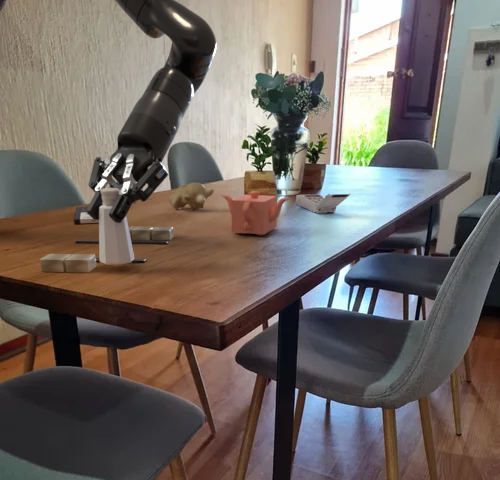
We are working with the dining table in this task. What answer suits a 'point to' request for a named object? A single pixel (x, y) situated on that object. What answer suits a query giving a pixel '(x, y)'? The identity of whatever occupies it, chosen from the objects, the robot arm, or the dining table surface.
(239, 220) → the teapot
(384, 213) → the dining table surface
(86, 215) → the chocolate bar
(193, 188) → the rhino figurine
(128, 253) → the pepper shaker
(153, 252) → the dining table surface
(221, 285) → the dining table surface
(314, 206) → the mobile phone
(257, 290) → the dining table surface
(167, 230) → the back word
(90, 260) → the front word
